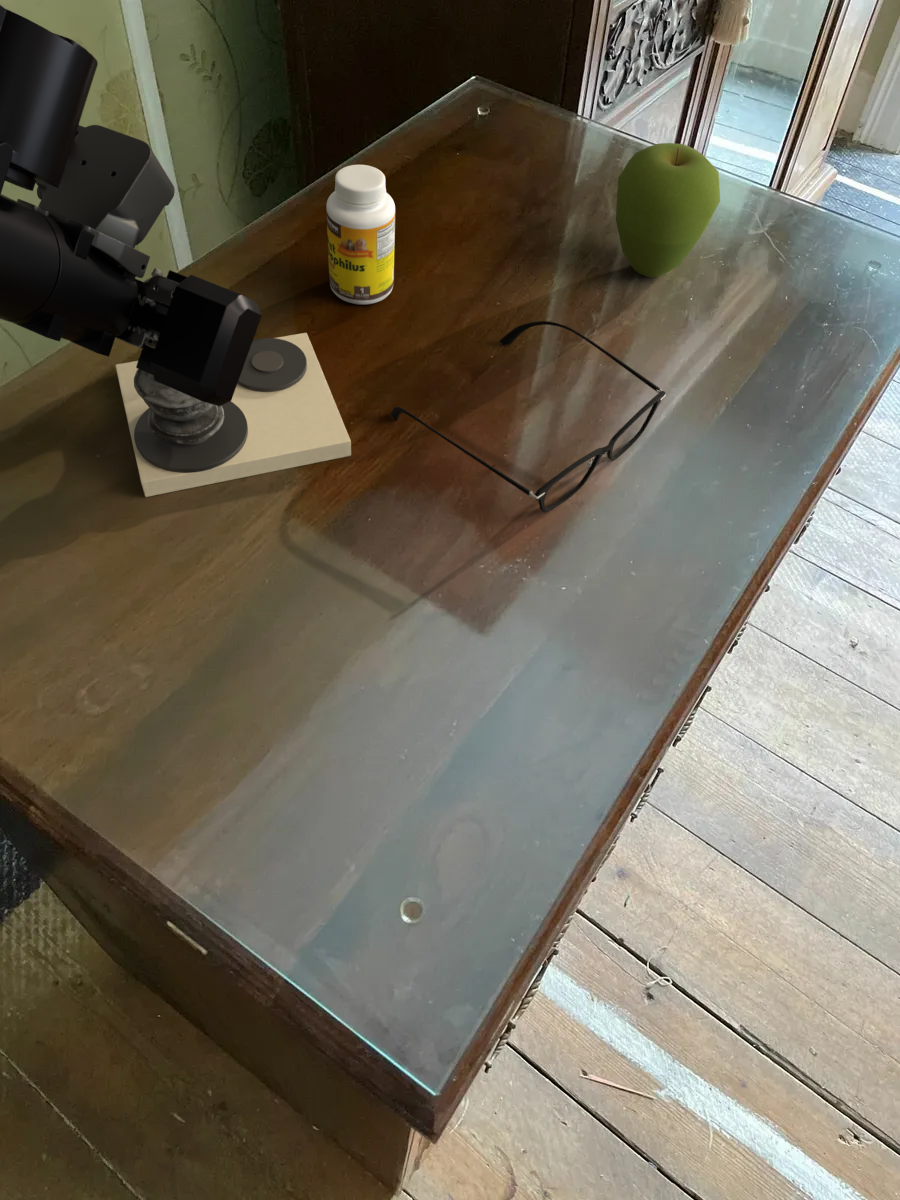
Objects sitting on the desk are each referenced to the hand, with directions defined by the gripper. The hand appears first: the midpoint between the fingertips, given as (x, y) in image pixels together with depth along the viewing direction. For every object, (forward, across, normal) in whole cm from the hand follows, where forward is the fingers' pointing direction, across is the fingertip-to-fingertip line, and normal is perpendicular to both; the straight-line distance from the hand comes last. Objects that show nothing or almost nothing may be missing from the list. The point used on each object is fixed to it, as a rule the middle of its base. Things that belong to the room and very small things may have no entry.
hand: (183, 331), depth 63 cm
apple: (+34, -21, -21) cm, 45 cm away
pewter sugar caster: (+4, 0, +6) cm, 7 cm away
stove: (+9, 0, +5) cm, 10 cm away
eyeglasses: (+17, -20, -3) cm, 26 cm away
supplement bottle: (+22, 0, -9) cm, 24 cm away
